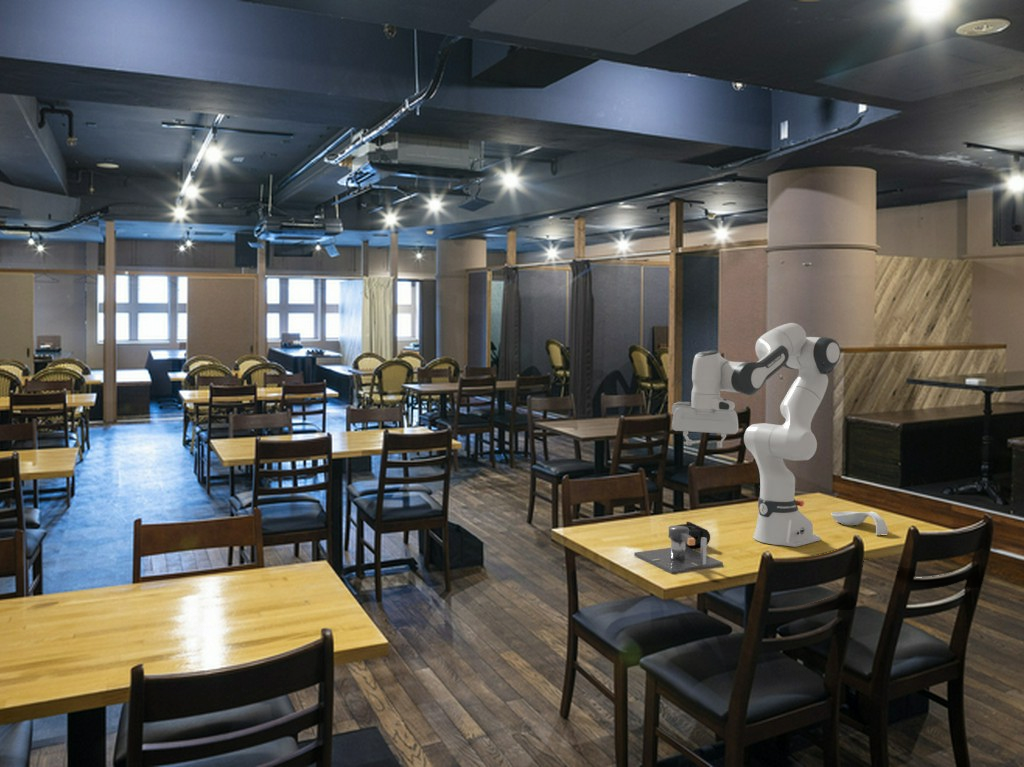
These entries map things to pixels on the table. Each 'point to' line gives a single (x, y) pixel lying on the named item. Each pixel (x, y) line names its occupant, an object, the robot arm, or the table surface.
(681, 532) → the collar
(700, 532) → the end cap
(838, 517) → the spoon rest
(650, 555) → the mount base
